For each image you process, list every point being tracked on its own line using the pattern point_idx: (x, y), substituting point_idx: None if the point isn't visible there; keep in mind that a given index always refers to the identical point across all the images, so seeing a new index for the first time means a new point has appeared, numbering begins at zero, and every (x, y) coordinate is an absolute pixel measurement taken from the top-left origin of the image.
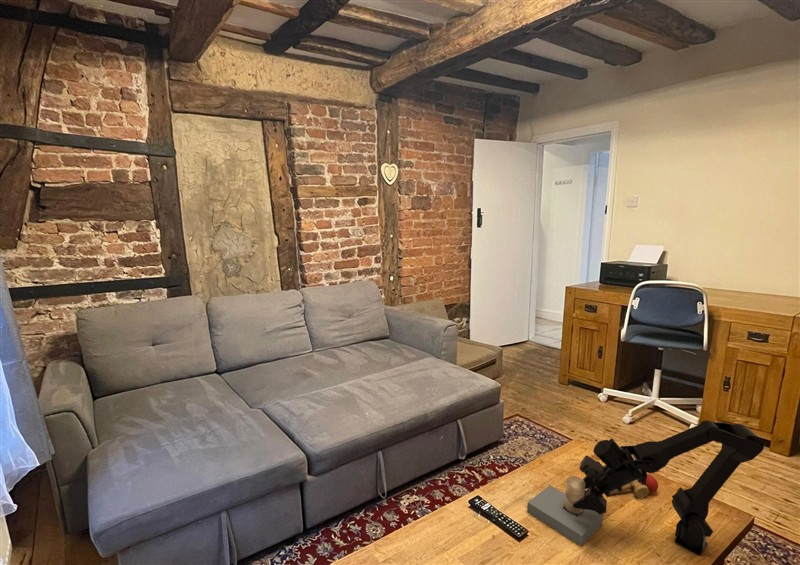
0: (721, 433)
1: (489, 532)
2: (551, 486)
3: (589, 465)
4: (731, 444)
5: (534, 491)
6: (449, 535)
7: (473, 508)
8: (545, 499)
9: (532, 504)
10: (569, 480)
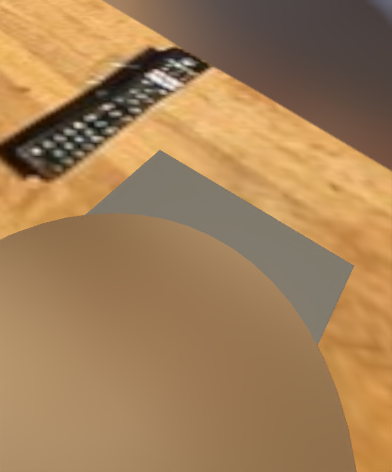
0: None
1: (40, 82)
2: (344, 274)
3: None
4: None
5: (311, 224)
6: (29, 16)
7: (145, 55)
8: (204, 228)
9: (147, 166)
10: (124, 268)
